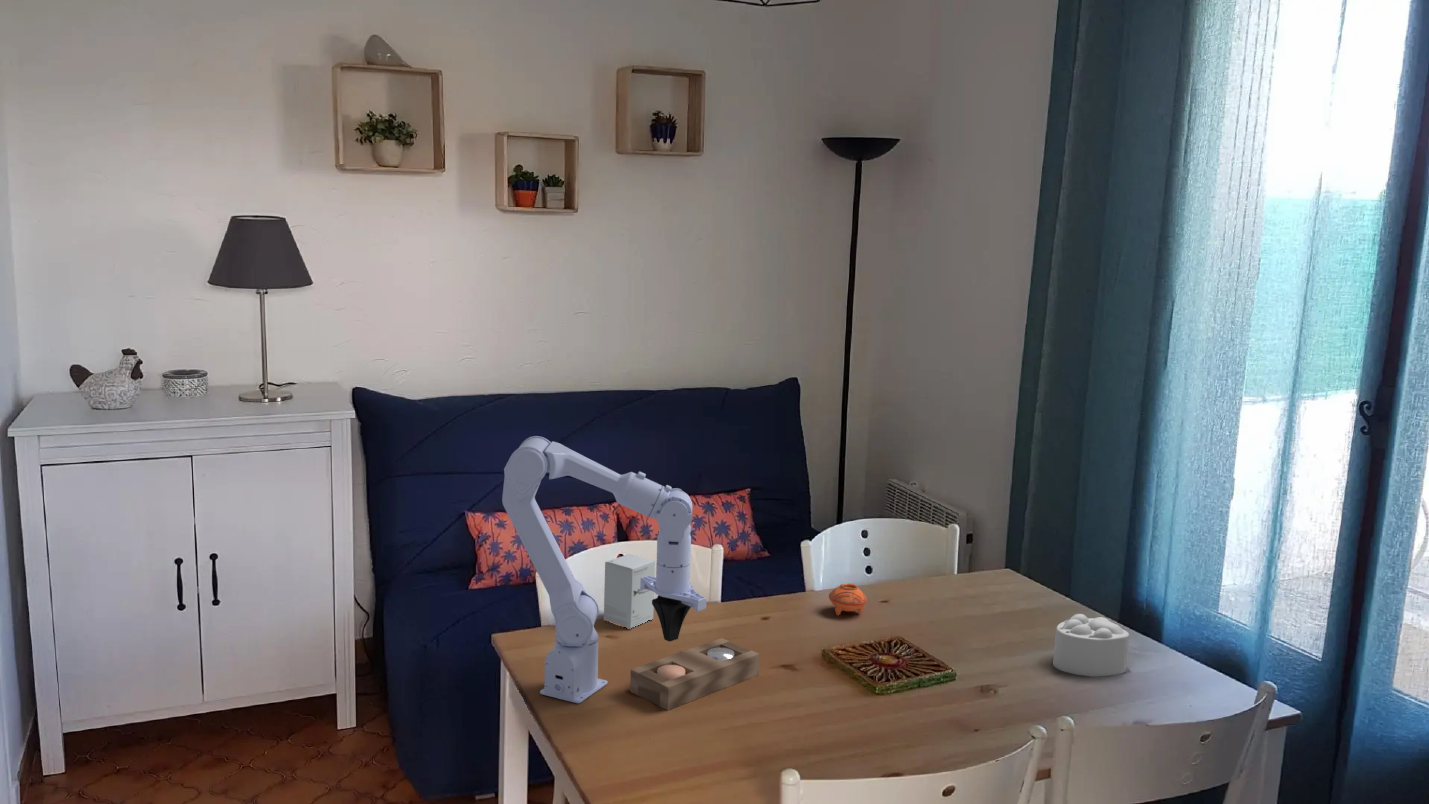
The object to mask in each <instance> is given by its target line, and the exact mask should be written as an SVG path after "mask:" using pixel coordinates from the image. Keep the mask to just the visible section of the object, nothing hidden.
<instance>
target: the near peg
mask: <svg viewBox="0 0 1429 804" xmlns="http://www.w3.org/2000/svg"><path fill="white" fill-rule="evenodd" d="M657 674H658V675H660V676H663V677H665V678H667V679H669V680H672V679H675V678H677V677H680V676H683V675H685V669H684V668H683V667H681V666H677V665H664V666H661V667H659V668H658V669H657Z"/></svg>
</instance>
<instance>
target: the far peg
mask: <svg viewBox="0 0 1429 804" xmlns="http://www.w3.org/2000/svg"><path fill="white" fill-rule="evenodd" d="M707 656H709V657H711V658H714V659H716V660H718V661H724V660H727V659H729V658H732V657H734V652H733V651H732V650H730V649H727V648H712V649H710V650H708V652H707Z"/></svg>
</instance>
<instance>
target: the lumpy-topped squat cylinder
mask: <svg viewBox="0 0 1429 804" xmlns="http://www.w3.org/2000/svg"><path fill="white" fill-rule="evenodd" d="M1055 628H1056V629H1055V638H1054V648H1053V657H1052V658H1053V659H1052V660H1053V661H1052V665H1053V667H1054V668H1055V669H1058V670H1059V671H1062V672H1065V673H1068V674H1069V673H1070V674H1073V675H1077V676H1078V675H1079V676H1086V677H1106V676H1107V677H1108V676H1115V675H1122V674H1124V673H1125V672H1126V670H1127V664H1128V663H1127V662H1128V661H1127V660H1128V654H1129V653H1128V652H1129V643H1130V642H1129V640H1130V633H1129V632H1128V631H1127V630H1125V629H1123V628H1122V627H1121V626H1120V625H1118V624H1116V623H1113V622H1112V621H1110V620H1109V619H1108V618H1106V617H1104V616H1103V617H1102V616H1099V617H1098V616H1097V617H1094V618H1092V617H1090V618H1088V617H1087V616H1086V615H1085V614H1083V613H1075V614H1073V615H1072V616H1071V617H1070V618H1069V619H1065V620H1064V621H1062V622H1060V623H1059V624H1058V625H1057V626H1056V627H1055Z"/></svg>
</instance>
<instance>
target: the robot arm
mask: <svg viewBox="0 0 1429 804" xmlns="http://www.w3.org/2000/svg"><path fill="white" fill-rule="evenodd" d="M503 471H504V472H503V473H504V479H503V480H504V481H503V490H502V497H501V498H502V499H501V500H502V506H503V508H504V510H505V512H506V514H507V516H508V518H509V519H510V522H511V524H512V525H513V527H514V530H515V531H516V533H517V535H518V537H519V539H520V541H521V543H522V545H523V547H524V549H525V551H526V553H527V555H528V557H529V559H530V561H531V563H532V565H533V567H534V568H535V571H536V573H537V574H538V577H539V579H540V581H541V582H542V584H543V586H544V588H545V590H546V593H547V594H548V598H549V604H550V605H549V606H550V611H551V613H552V617H553V618H554V621H555V622H554V623H555V625H554V627H555V628H554V629H555V633H556V635H555V643H554V646H553V648H552V649H551V650H550V651H549V652H548V653H547V654H546V656H545V659H544V677H543V678H544V684H543V685H544V687H543V688H542V689H541V690H540V691H539V694H541V695H542V696H543V695H544V696H548V697H551V698H555V699H559V700H562V701H563V700H564V701H567V702H571V703H575V704H580V703H582V702H584V701H585V700H586V699H588V698H589V697H591V696H592V695H593V694H595V693H596V692H598V691H599V690H600V689H602V688H603V687H605V686H606V685H608V680H606V679H602V678H598V677H599V676H598V675H599V673H598V672H599V634H598V632H597V631H596V629H595V626H594V625H595V623H596V621H597V619H598V617H599V611H600V607H599V604H598V602H597V600H596V598H595V597H593V595H591V594H590V593H588V592H587V590H585V587H584V586H583V584H582V583H581V582H580V581H579V580H578V579H576V578H575V577H574V574H573V572H572V570H571V568H570V566H569V564H568V562H567V560H566V558H565V557H564V554H563V553H562V550H561V549H560V546H559V544H558V542H557V541H556V539H555V536H554V534H553V533H552V531H551V528H550V527H549V524H548V523H547V521H546V518H545V516H544V515H543V512H542V511H541V508H540V506H539V504H538V503H537V501H536V494H537V492H538V489H539V487H540V484H541V483H542V479H544V477H545V476H546V474H547V473H549V475H548V480H553V479H558V478H563V477H566V476H567V477H568V476H569V477H572V478H574V479H577V480H580V481H582V482H585V483H587V484H590V485H593V486H595V487H597V488H600V489H601V490H605V491H607V492H610V493H612V494H613V496H614V498H615V501H616V503H617V504H619V505H621V506H623V507H625V508H628V509H630V510H633V511H634V512H637V513H639V514H640V515H643V516H646V518H647V517H648V518H650V519H655V520H656V521H657V523H658V534H657V536H656V563H655V566H656V567H655V570H656V572H655V577H652V576H646V577H642V578H641V582H640V588H641V589H644V590H645V589H648V590H651V591H653V592H654V594H655V595H657V596H656V598H654V599H653V600H652V605H653V606H654V610H655V612H656V614H657V617H658V620H659V622H660V627H661V631H662V636H663V639H664V640H665V641H667V642H669V643H670V642H673V641H676V640H678V639H679V637H680V632H681V629H682V626H683V624H684V621H685V618H686V616H687V614H688V612H689V611H690V609H691V608H693V610H694V611H695V612H700V611H703V610H706V609H707V597H706V596H704V595H701V594H700V593H699V592H697V591H696V590H695V589H693V588H694V587H693V586H694V585H693V583H691V557H692V556H691V555H692V551H691V550H692V536H691V532H692V526H691V523H692V520H693V502H692V499H691V497H690V496H689V494H688V493H686V492H685V491H683V490H682V489H681V488H678V487H676V488H672V486H671V485H668V484H666V485H665V486H664V485H662V484H659V483H658V482H656V481H653V480H651V479H648V478H647V477H646V475H647V474H646V473H644V472H642V471H638V472H637V473H635V472H633V471H630V472H627V473H624V474H620V473H618V472H616V471H614V470H613V469H610V468H608V467H606V466H605V465H602V464H601V463H599V462H597V461H594V460H592V459H590V458H588V457H586V456H584V455H583V454H581V453H579V452H576V451H575V450H572V449H570V448H569V447H567V446H565V445H564V444H562V443H559V442H557V441H550V440H549V439H547V438H545V437H543V436H538V435H534V436H530V437H528V438H525V440H523V441H522V442H521V444H520V445H519V447H518V448H516V449H515V450H514V452H512V453H511V455H510V457H509V459H508V461H507V462H506V465H505V467H504V468H503Z"/></svg>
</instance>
